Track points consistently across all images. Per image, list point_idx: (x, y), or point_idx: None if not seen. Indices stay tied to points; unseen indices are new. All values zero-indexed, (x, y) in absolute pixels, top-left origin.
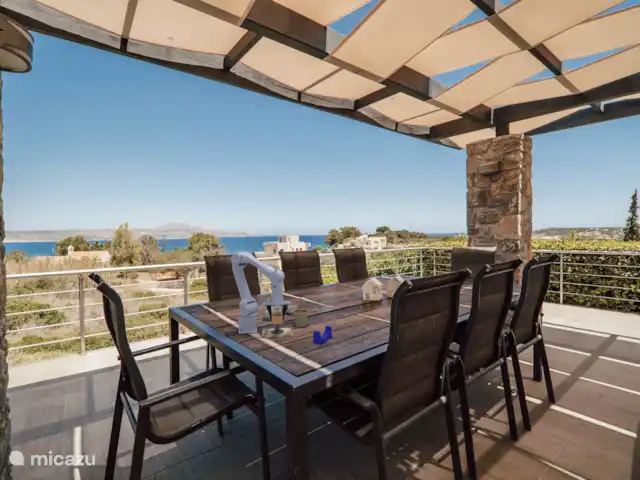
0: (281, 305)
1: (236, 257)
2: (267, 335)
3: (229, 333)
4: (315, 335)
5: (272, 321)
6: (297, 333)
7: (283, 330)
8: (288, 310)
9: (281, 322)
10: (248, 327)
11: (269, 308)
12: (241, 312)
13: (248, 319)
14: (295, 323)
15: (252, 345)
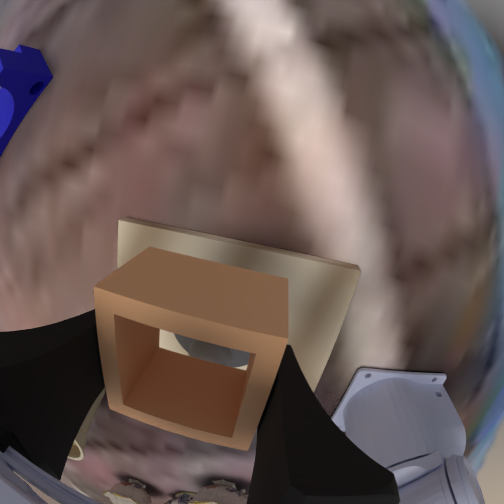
0: (33, 471)
1: None
2: (314, 271)
3: (469, 385)
4: (16, 62)
5: (276, 292)
6: (94, 270)
7: (171, 334)
8: (141, 496)
9: (155, 253)
10: (411, 399)
11: (348, 490)
12: (473, 477)
13: (427, 440)
14: (100, 394)
15: (446, 137)
